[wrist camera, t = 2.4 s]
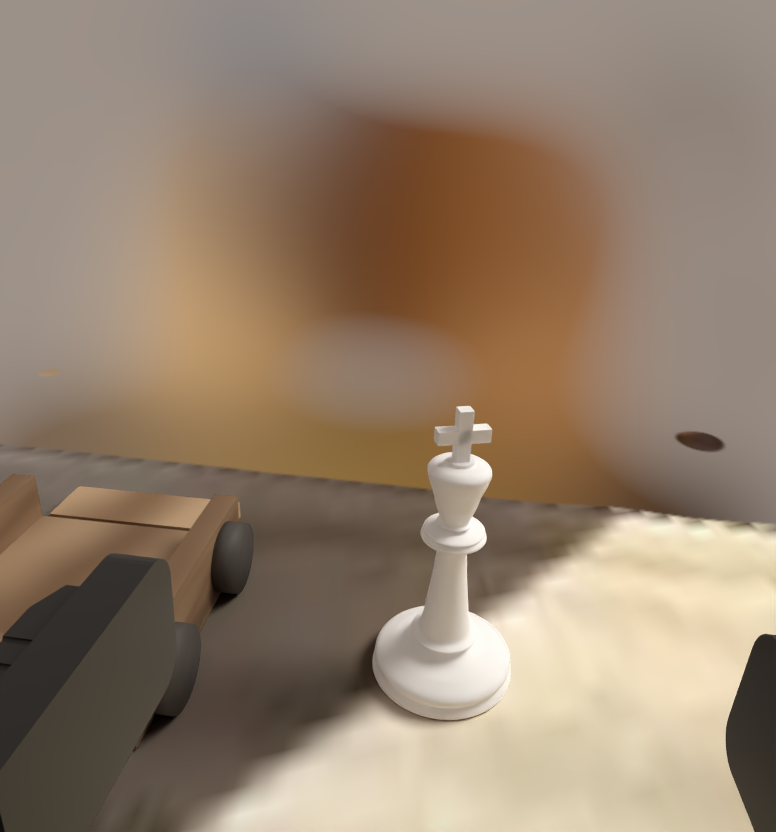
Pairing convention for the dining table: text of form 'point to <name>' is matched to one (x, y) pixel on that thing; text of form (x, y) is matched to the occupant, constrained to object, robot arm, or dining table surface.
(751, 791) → the robot arm
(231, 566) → the truck bed
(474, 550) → the chess piece
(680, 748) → the dining table surface
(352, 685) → the dining table surface
